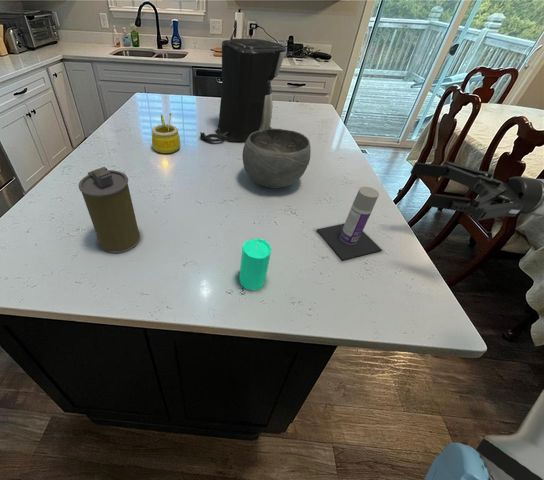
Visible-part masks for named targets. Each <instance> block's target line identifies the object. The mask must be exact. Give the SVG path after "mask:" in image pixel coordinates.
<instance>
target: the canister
mask: <svg viewBox="0 0 544 480" xmlns="http://www.w3.org/2000/svg"><path fill="white" fill-rule="evenodd" d="M78 189H79V191H80V192H81V194H82V198H83V200H84V203H85V206H86V209H87V211H88V214H89V217H90V220H91V222H92V226H93V228H94V231H95V234H96V237H97V240H98V245H99V248H101V249H102V250H103V251H104V252H106V253H110V254H121V253H122V254H123V253H125V252H127V251H131V250H132V249H134V248H135V247H136V246H137V245H138V244H139V242H140V240H141V233H140V231H139V227H138V222H137V218H136V214H135V210H134V204H133V201H132V195H131V192H130V188H129V178H128V176H127V175H126V174H125V173H124V172H121V171H118V170H114V169H108V168H107V167H106V166H102V167H100V168H96V169H94V170H91V171H88V172H87V175H85V176H83V178H82V179H81V180H80V181H79V183H78Z"/></svg>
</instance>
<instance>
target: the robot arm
mask: <svg viewBox="0 0 544 480" xmlns="http://www.w3.org/2000/svg"><path fill="white" fill-rule="evenodd" d="M409 173H410V175H417V176H425V177H432V178H438V179H441V177H443V178H446V179H447V180H451V181H453V182H456V183H458V184H460V185H463V186H465V187H467V188H468V190H469V191H472V192H474V193H476V194H477V195H478V197H479V198H473V199H472V200H471V199H470V197H463V196H455V195H449V194H440V193H433V195H432V196H431V198H430V200H429V201H428V203H427V206H428V207H429V208H436V209H442V210H450V211H454V212H456V211H457V212H463V213H465V214H466V215H469V216H472V217H471V219H472V220H473V221H477V222H479V221H483V220H489V219H495V218H500V217H511V218H514V217H516V216H517V215H522V214H523V215H526V216H529V217H531V216H536V217H543V218H544V178H533V177H524V176H512V177H509V178H507V179H505V180H502V181H501V180H499V179H496V178H492V177H494V173H493V172H489V171H484V170H479V169H476V168H473V167H469V166H465V165H462V164H458V163H455V162H451V161H448V160H444V162H443V163H442V164H433V163H426V162H417V161H416V162H415V163H414V164H413V166H412V168H411V170H410V172H409ZM424 480H544V389H542V391H541V393H540V395H539V396H538V397H537V399H536V401H535V402H534V404H533V405H532V407H531V409H530V410H529V411H528V413H527V414H526V416H525V418H524V419H523V420H522V422H521V424H520V425H519V427H518V429H517V430H516V432H514V433H512V434H486V435H484V437H483V438H482V439H481V441H480V442H479V443H478V445H477V447H476V449H475V448H474V447H472V446H471V445H468V444H464V443H461V442H451V443H448V444H447V445H445V447H443V450H442V452H440V453H438V454H437V456H436V457H435V458H434V459H433V461H432V463H431V465H430V467H429V469H428V470H427V473H426V475H425V477H424Z"/></svg>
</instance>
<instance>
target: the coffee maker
mask: <svg viewBox="0 0 544 480" xmlns="http://www.w3.org/2000/svg"><path fill="white" fill-rule="evenodd" d="M286 51H287V48H286V46H285V45H283V44H281V43H278V42H274V41H271V40H265V39H258V38H230V39H226V40H222V42H221V92H220V103H219V104H220V105H219V114H218V124H217V127H216V129H215V132H216V133H209V134H207V135H206V134H205V132H201V131H200V132H199V133H200V136H199V138H200V140H204V141H207V142H210V143H211V142H212V143H217V142H222V141H227V142H231V143H232V142H233V143H235V142H237V143H238V142H240V143H245V142H246V140H247V138H248V137H249V135H250V134H251V133H253V132H256V131H259V130H264V129H273V127H272V126H271V125H272V124H271V123H272V117H273V89H272V83H271V82H272V81H273V80H274V79H275V78H277V77H278V75H279V73H280V70H281V67H282V64H283V61H284V58H285V54H286ZM211 137H215V138H211Z"/></svg>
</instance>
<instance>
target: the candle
mask: <svg viewBox="0 0 544 480" xmlns="http://www.w3.org/2000/svg"><path fill="white" fill-rule="evenodd" d="M271 254H272V247H271V244H270V243H269V242H268V241H266V239H263V238H258V237H257V238H252V239H249V240H246V241H245V240H244V243H243V244H242V249H241V257H240V266H239V267H240V268H239V277H238V279H239V284H240V285H241V286H242V287H243V288H244V289H247V290H248V291H258V290H260V289H262V288H263V287H264V285H265V283H266V279H267V274H268V269H269V263H270V259H271Z"/></svg>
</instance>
